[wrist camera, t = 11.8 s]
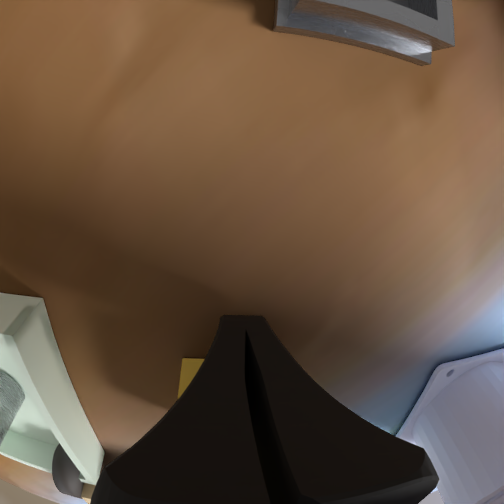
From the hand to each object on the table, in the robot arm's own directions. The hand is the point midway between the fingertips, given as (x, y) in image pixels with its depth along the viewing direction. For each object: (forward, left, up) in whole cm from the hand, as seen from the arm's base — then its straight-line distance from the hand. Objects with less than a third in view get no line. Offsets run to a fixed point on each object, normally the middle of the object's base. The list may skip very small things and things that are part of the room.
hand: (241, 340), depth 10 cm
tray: (+12, +5, -1) cm, 13 cm away
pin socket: (-3, -12, -1) cm, 12 cm away
